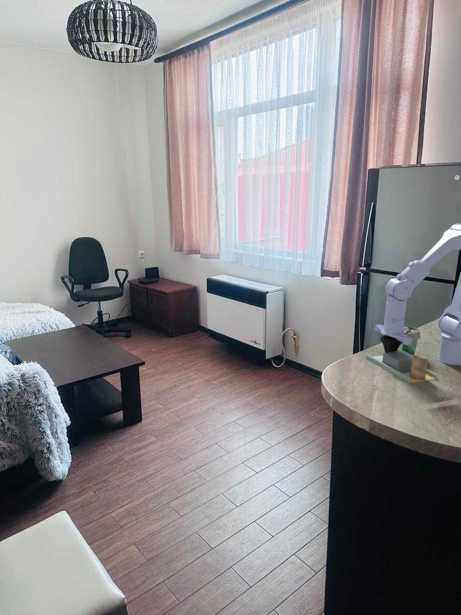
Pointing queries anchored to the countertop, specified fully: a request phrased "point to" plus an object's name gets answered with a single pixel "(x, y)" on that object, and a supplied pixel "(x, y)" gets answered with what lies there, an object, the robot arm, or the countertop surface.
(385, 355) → the slab
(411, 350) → the food container
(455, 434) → the countertop surface
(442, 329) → the robot arm
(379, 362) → the runway
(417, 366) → the roller pin
